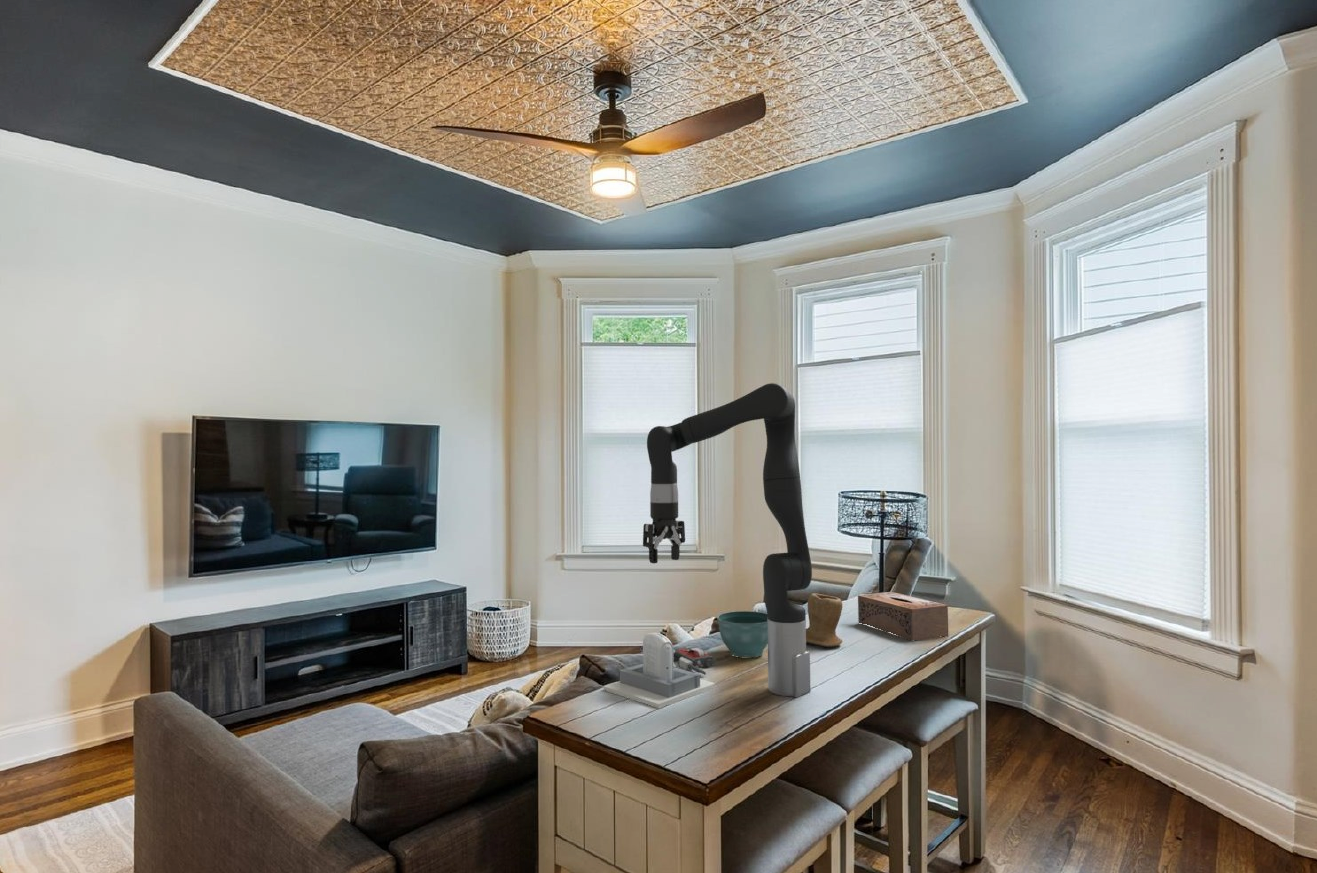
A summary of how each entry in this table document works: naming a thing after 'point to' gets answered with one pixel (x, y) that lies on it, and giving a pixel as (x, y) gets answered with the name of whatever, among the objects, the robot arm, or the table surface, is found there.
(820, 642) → the tan flared cylinder
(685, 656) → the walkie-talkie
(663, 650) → the photo printer
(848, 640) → the table surface
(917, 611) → the tissue box cover
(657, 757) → the table surface
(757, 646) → the flower pot
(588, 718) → the table surface
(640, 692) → the dock
